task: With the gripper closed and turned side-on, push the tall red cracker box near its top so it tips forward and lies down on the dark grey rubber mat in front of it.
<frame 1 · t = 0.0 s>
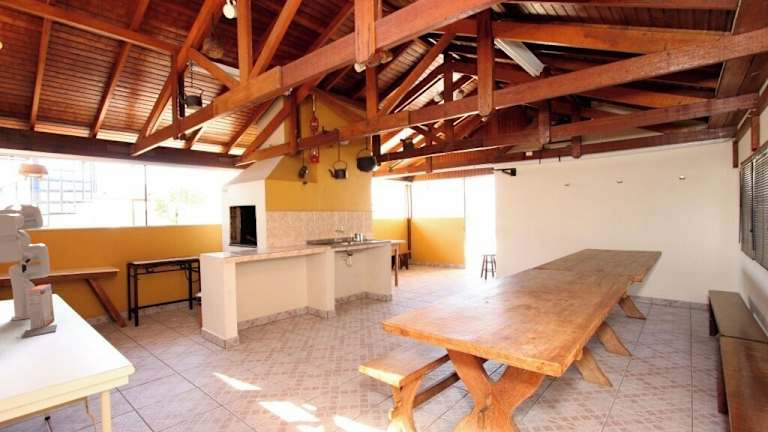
hand: (10, 274, 180), 31 cm above the table, tool pointing down, fingers open, 9 cm apart
cracker box: (42, 325, 199), on the table
mat: (40, 331, 187), on the table
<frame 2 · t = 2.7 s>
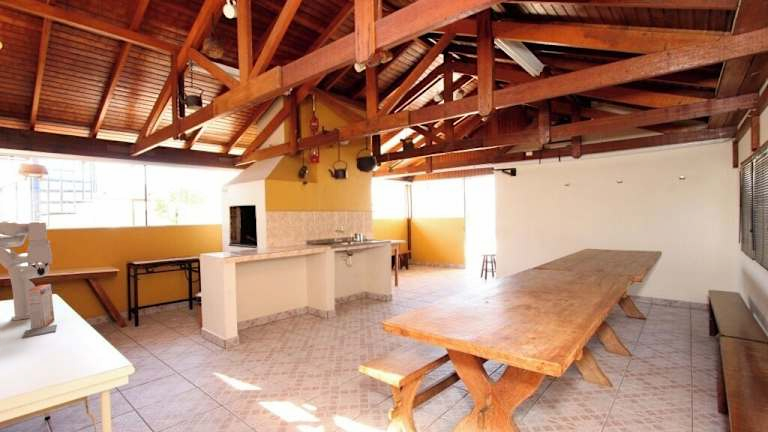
hand: (41, 275, 208), 26 cm above the table, tool pointing down, fingers closed
nothing on the table moved.
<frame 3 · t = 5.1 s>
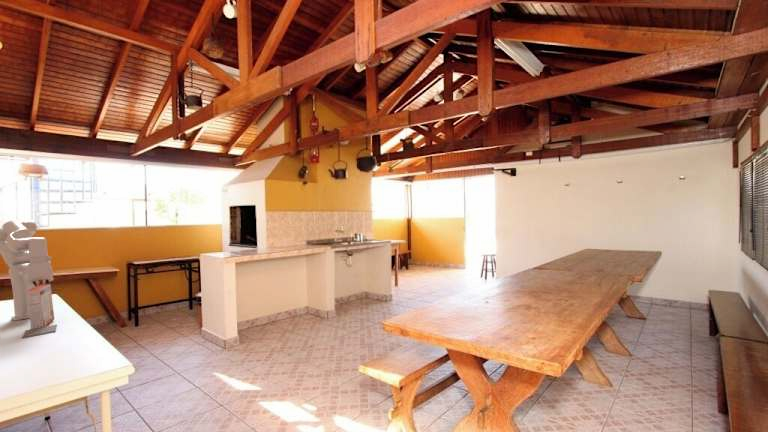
hand: (41, 292, 205), 16 cm above the table, tool pointing down, fingers closed
nothing on the table moved.
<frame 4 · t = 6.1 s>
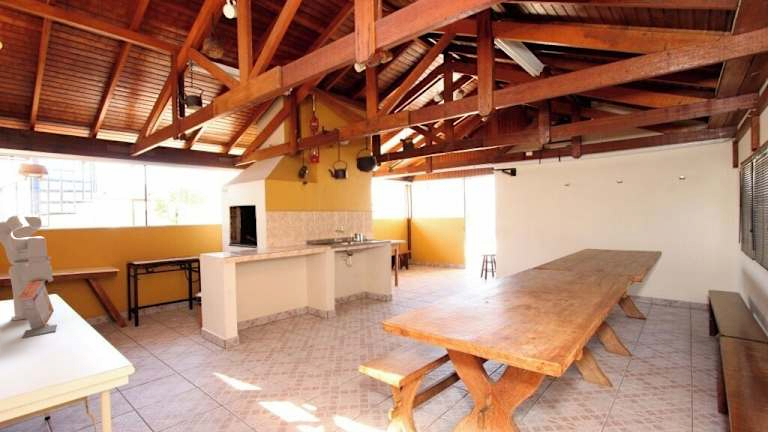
hand: (41, 293, 200), 17 cm above the table, tool pointing down, fingers closed
cracker box: (42, 320, 199), point 3 cm above the table, touching gripper
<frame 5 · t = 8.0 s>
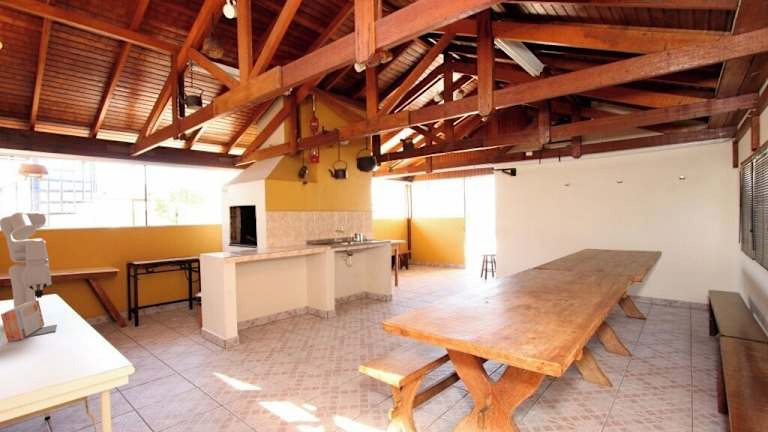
hand: (39, 297, 193), 16 cm above the table, tool pointing down, fingers closed
cracker box: (35, 314, 193), point 8 cm above the table, touching mat
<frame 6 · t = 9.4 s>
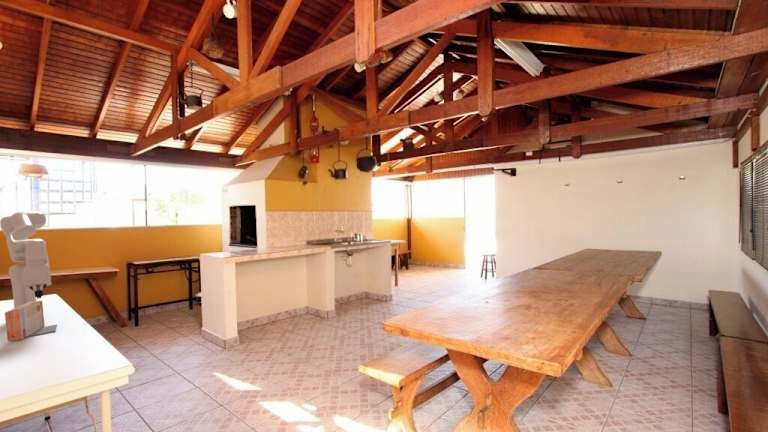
hand: (39, 297, 193), 16 cm above the table, tool pointing down, fingers closed
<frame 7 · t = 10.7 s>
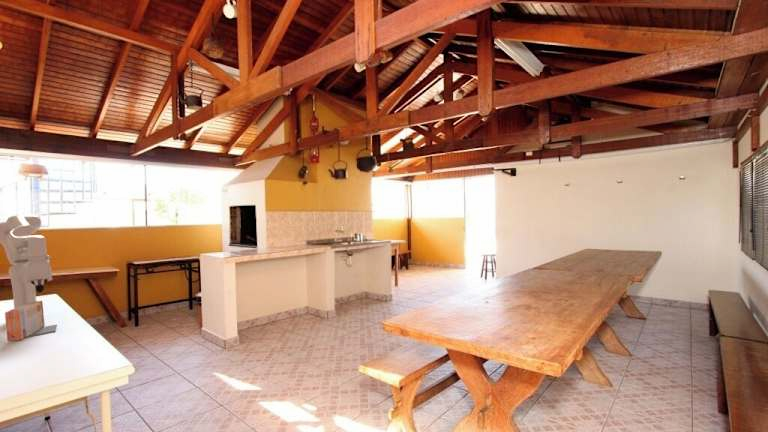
hand: (40, 292, 201), 17 cm above the table, tool pointing down, fingers closed
nothing on the table moved.
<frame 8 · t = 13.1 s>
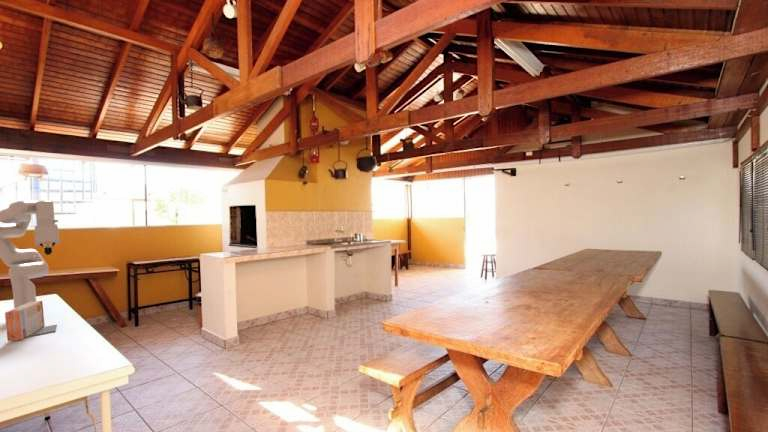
hand: (48, 254, 208), 37 cm above the table, tool pointing down, fingers closed
nothing on the table moved.
at the end: cracker box tilted 90°; cracker box inside the target area (3.4 cm from its centre), point 7.5 cm above the table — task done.
